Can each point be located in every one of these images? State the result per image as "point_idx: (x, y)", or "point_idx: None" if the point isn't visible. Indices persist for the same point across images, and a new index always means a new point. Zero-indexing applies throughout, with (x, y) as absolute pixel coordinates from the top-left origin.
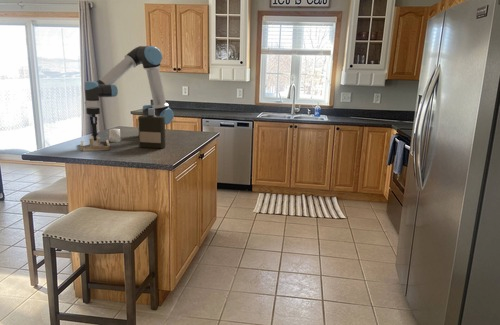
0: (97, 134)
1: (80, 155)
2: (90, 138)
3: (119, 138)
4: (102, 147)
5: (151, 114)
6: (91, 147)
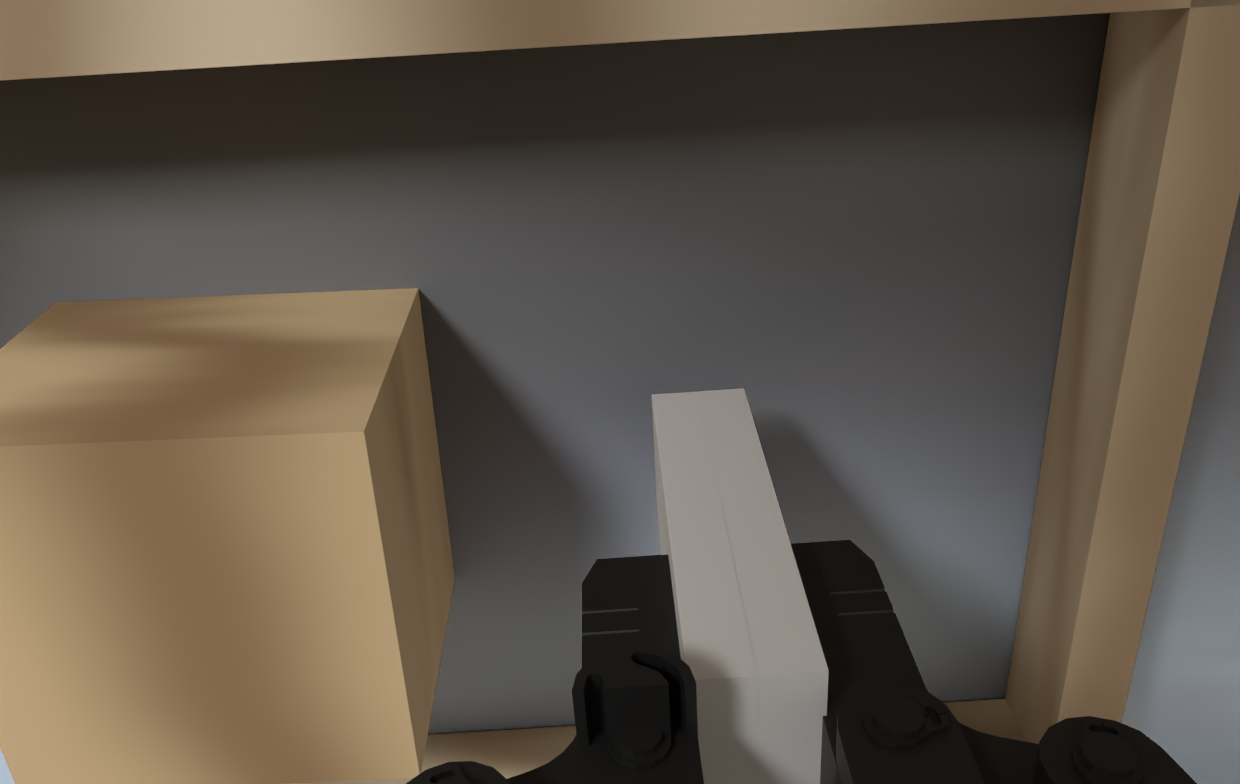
0: (681, 684)
1: None
2: (293, 754)
3: None
4: (1210, 227)
5: None
6: (1149, 573)
